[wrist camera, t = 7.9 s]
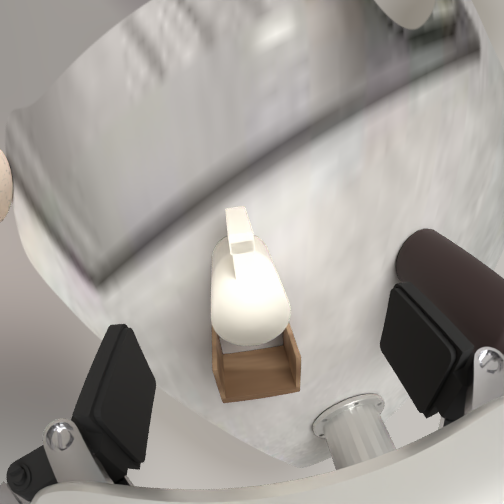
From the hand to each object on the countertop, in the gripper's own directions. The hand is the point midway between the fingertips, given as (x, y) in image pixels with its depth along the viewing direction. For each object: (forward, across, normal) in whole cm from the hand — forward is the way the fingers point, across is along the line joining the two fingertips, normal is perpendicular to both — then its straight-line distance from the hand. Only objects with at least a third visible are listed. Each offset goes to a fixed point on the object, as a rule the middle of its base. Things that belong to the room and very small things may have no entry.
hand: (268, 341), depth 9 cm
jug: (+15, 0, +2) cm, 15 cm away
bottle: (+15, -19, +6) cm, 25 cm away
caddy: (+15, 0, +13) cm, 20 cm away
